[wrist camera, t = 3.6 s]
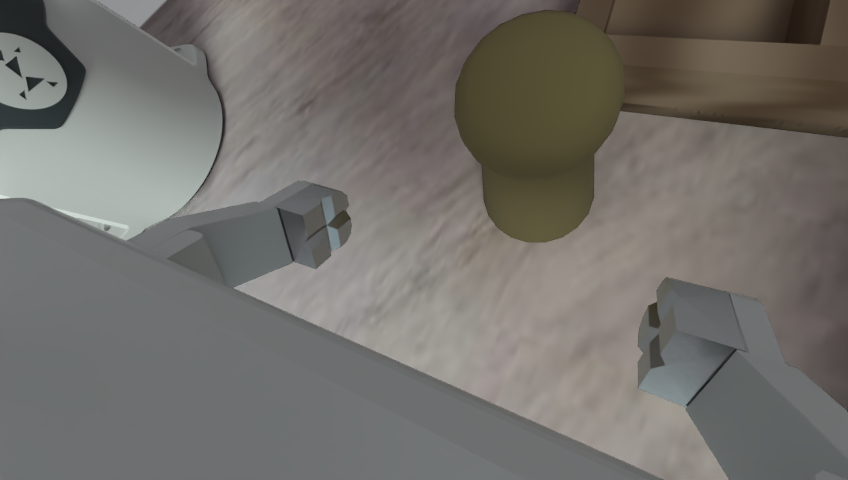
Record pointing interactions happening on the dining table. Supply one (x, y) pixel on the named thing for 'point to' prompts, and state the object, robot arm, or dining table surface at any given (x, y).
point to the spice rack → (733, 60)
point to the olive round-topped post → (539, 119)
